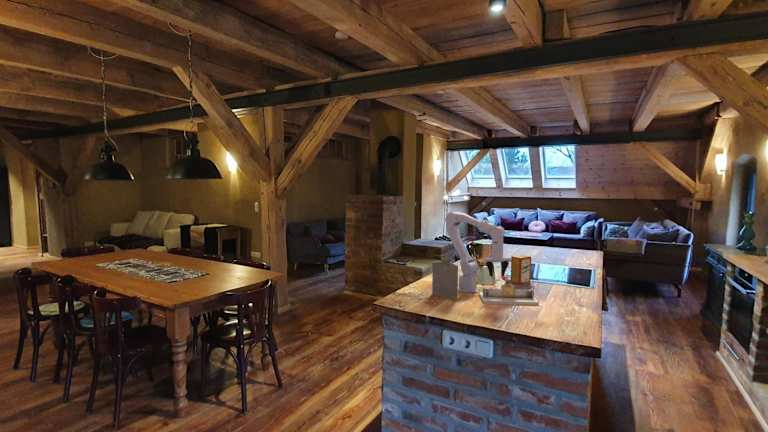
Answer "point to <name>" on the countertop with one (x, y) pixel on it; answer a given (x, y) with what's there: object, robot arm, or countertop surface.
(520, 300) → the mounting board
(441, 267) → the hip flask
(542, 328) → the countertop surface
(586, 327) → the countertop surface
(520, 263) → the baking soda box
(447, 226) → the robot arm
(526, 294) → the ball valve
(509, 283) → the valve lever
